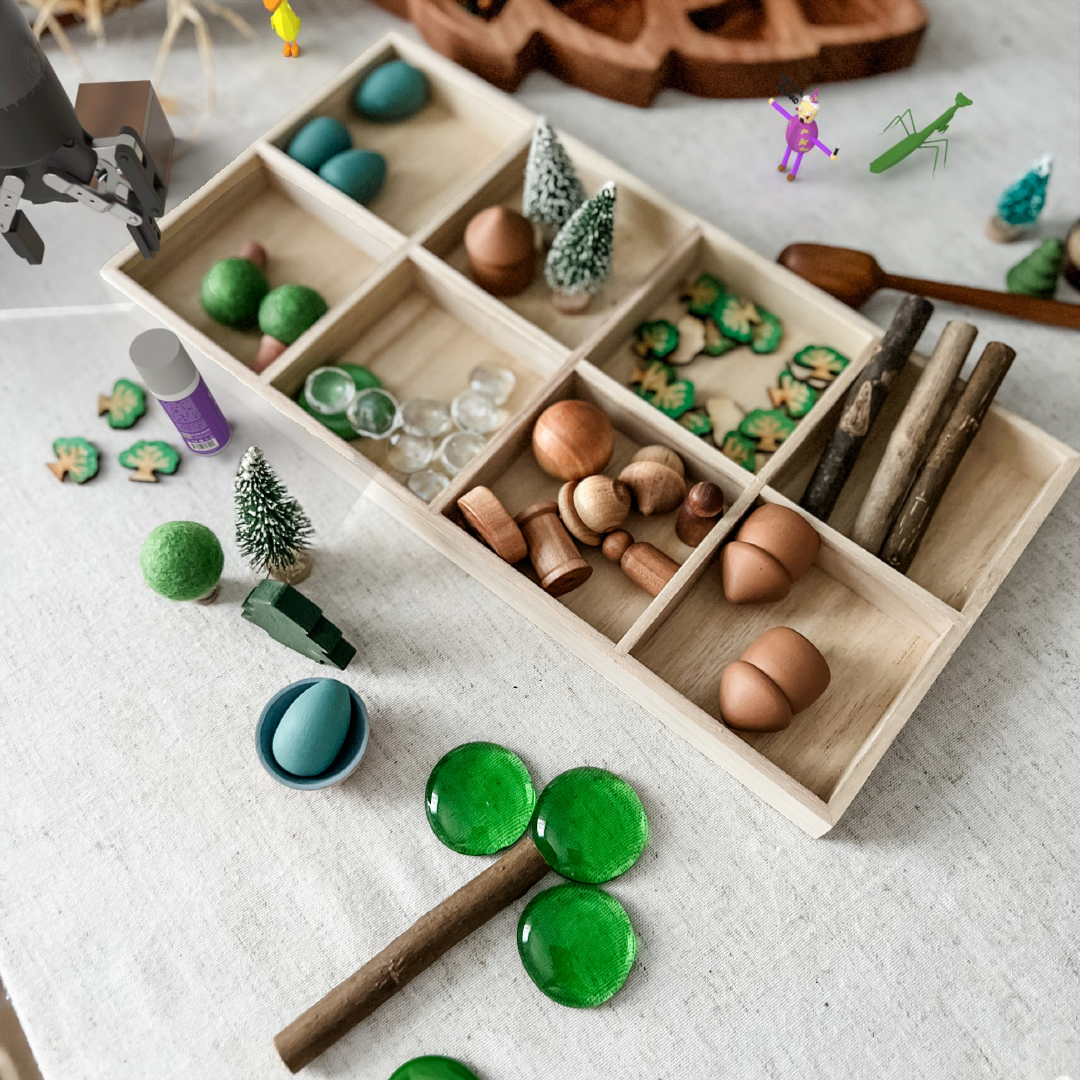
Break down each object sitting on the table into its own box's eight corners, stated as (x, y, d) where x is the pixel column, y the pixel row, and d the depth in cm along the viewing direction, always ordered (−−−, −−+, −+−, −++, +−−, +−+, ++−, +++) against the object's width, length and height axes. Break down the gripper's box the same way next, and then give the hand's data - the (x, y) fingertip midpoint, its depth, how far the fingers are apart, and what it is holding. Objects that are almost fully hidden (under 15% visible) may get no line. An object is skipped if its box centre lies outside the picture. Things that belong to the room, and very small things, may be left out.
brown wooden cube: (97, 202, 109) (66, 147, 102) (108, 139, 113) (78, 83, 106) (166, 198, 109) (140, 143, 102) (174, 136, 114) (150, 79, 106)
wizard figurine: (748, 150, 113) (771, 62, 102) (768, 139, 114) (793, 51, 103) (811, 208, 109) (841, 123, 98) (831, 196, 110) (864, 111, 99)
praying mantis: (981, 150, 113) (998, 118, 109) (894, 206, 109) (908, 176, 105) (924, 105, 116) (938, 73, 112) (837, 159, 112) (848, 128, 108)
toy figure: (300, 71, 118) (276, -21, 108) (272, 69, 119) (245, -22, 108) (309, 35, 121) (287, -58, 110) (282, 33, 121) (257, -59, 110)
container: (241, 428, 96) (192, 339, 83) (214, 464, 94) (159, 378, 81) (204, 410, 97) (149, 319, 84) (176, 445, 95) (116, 357, 82)
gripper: (106, 19, 58) (193, 211, 73) (-126, 29, 58) (8, 220, 73) (90, 104, 55) (185, 287, 70) (-156, 116, 55) (-9, 297, 70)
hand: (95, 253), depth 71 cm, fingers open, 8 cm apart
